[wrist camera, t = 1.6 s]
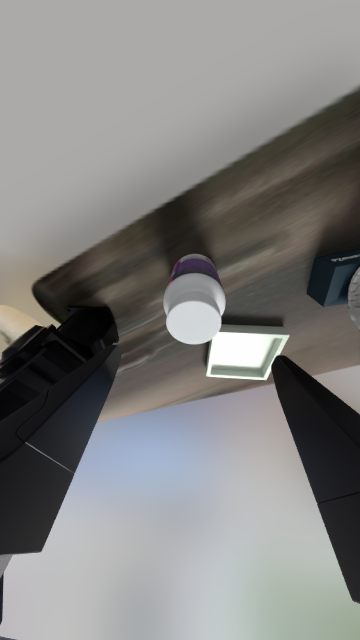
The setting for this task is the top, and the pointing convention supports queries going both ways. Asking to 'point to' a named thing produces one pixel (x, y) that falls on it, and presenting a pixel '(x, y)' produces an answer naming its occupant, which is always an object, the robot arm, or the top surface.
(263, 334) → the tray
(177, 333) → the pill bottle
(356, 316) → the watch
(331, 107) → the top surface
